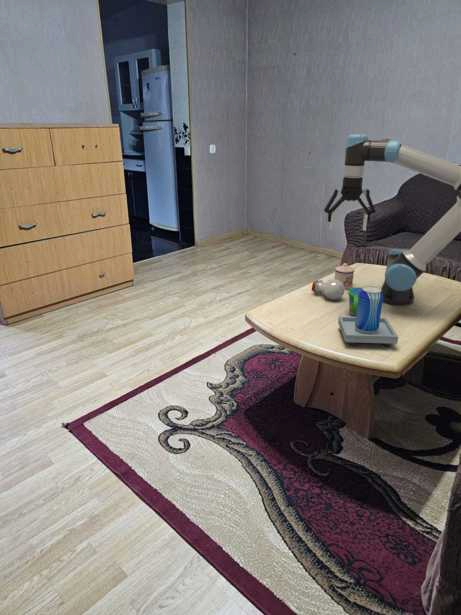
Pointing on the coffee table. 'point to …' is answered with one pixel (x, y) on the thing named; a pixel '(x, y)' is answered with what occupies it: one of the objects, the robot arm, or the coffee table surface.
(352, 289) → the snack cup
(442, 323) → the coffee table surface
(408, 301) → the robot arm
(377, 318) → the beer can
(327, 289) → the potion bottle
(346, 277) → the teacup with lid
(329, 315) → the coffee table surface
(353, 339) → the grey rimmed tray
